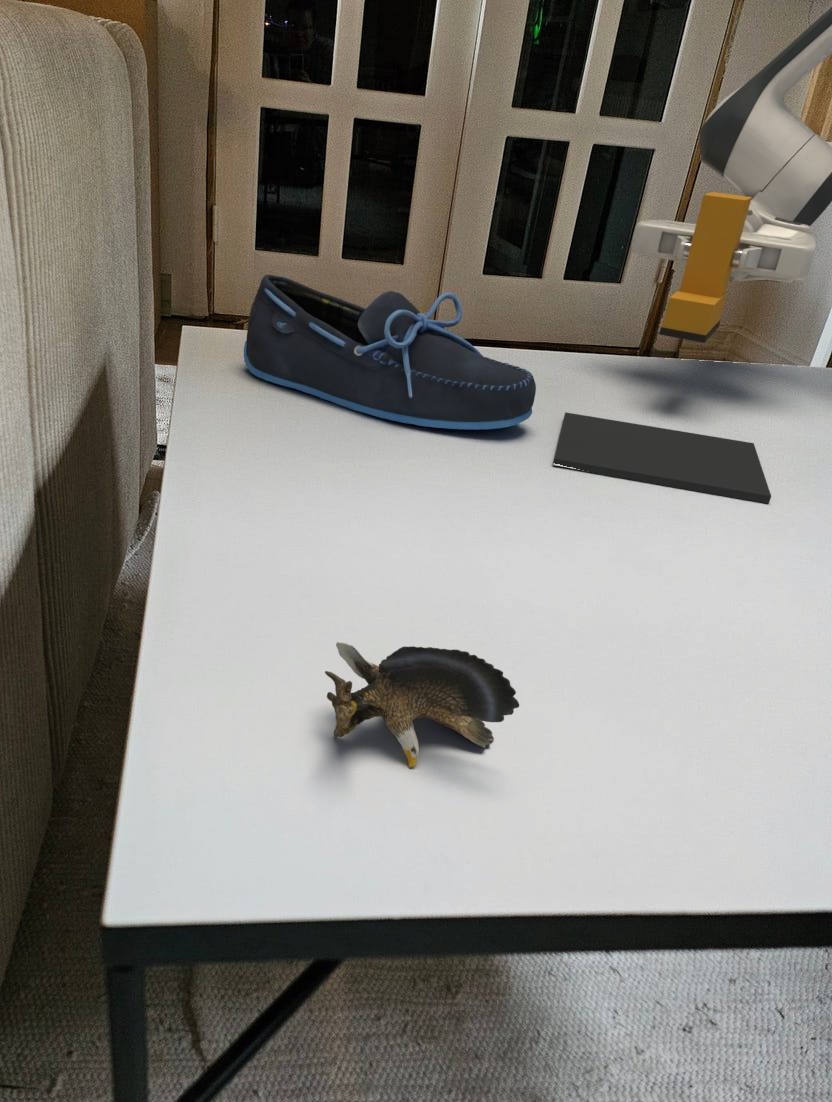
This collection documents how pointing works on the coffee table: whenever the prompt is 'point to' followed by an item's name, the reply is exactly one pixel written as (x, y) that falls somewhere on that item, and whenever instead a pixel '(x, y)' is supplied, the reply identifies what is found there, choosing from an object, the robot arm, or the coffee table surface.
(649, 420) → the coffee table surface
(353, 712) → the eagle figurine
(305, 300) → the moccasin
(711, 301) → the boot
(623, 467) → the shoe mat
